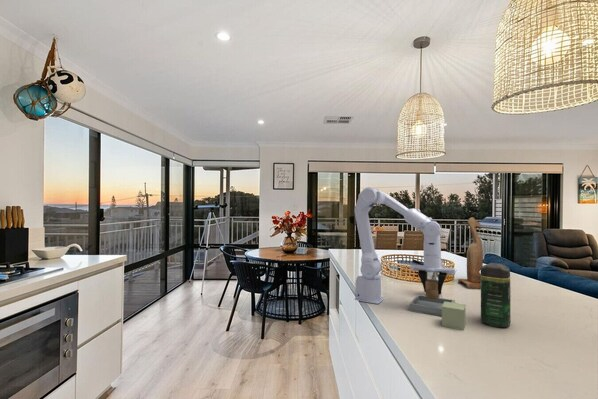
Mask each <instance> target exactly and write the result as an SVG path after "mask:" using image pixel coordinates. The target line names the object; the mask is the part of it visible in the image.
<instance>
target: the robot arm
mask: <svg viewBox="0 0 598 399" xmlns="http://www.w3.org/2000/svg"><path fill="white" fill-rule="evenodd" d="M377 204H382V205H386V206H387V207H389V208H390V209H392V210H394V211H396V212H397V213H399V214H400V215H402V216H403V218H404V221H405V222H406V223H408V224H409V225H410V226H412V227H413V228H415V229H416V230H418V231H422V232H421V233H422V234H423V264H411V265H410V271H412V272H413V271H416V272H417V276H418V278H419V279H420V281H421V283H422V287H423V291H424V293H426V285H425V281H426V280H427V272H433V273H439V274H438V294H441V292H442V289H443V285H444V283H445V280H446V278H447V277H448V275H451V276H455V275H456V268H453V267H452V268H451V267H445V266H443V267H441V260H442V250H441V249H442V243H441V231H442V227H441V225H440V224H439V223H438V222H437V221H436V220H433V218H432V217H431V216H430V217H428V216H427V215H425V214H424V213H422V212H421V210H420V209H419V208H417V209H416V208H414V207H413V208H408V207H406V206H405V205H404V204H402V203H401V202H399V201H398V200H397V199H395V198H394V197H392V196H391V195H389V194H388V193H386V192H384V191H381V190H380V189H378V188H374V187H370V186H369V187H365V188H363V189H362V190H361V191H360V193H359V194H358V198H357V200H356V204H355V206H354V216H355V220H356V221H355V222H356V226H357V232H358V239H359V243H360V248H361V249H360V250H361V258H360V262H361V265H360V273H361V275H357V277H356V278H355V282H354V283H355V285H354V286H355V293H354V294H355V298H354V300H355V301H358V302H365V303H370V304H376V305H379V304H380V303H382V301H383V300H385V297H383V296H382V277H381V274H380V272H382V268H383V267H382V266H383V265H382V263H381V260H379V257H378V254H377V252H376V249H375V244H374V238H373V234H372V228H371V224H370V223H371V222H370V216H369V212H371V209H372V208H373V207H374V206H376V205H377Z"/></svg>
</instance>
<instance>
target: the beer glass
mask: <svg viewBox="0 0 598 399" xmlns="http://www.w3.org/2000/svg"><path fill="white" fill-rule="evenodd" d="M441 267H444V264H443V260H442V259H441ZM438 274H439V273H433V272H427V279H432V280H438ZM439 298H443V292H442V291H441V294H440V297H439Z"/></svg>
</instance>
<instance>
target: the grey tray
mask: <svg viewBox="0 0 598 399" xmlns="http://www.w3.org/2000/svg"><path fill="white" fill-rule="evenodd" d="M444 301H445V302H452V303H456V300H455V299H450V298H444V297H442V298H439V299H438V300H434V299H428V298H426V295H424V294H423V295H422V294H417V295H416V296H414V298H413V299H412V300H411V302H410V303H409V311H410V312H414V313H420V314H426V315H432V316H437V317H442V305H443V303H444Z"/></svg>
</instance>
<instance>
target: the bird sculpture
mask: <svg viewBox="0 0 598 399" xmlns="http://www.w3.org/2000/svg"><path fill="white" fill-rule="evenodd" d="M467 224H468V227H469V229H470V232H471V236H472V240H473V241H472V243H471V244H470V245H469V246H468V248H467V251H466V278H458V279H457V284H465V285H466V288H467V289H473V290H475V289H476V290H481V274H480V273H481V267H482V266H484V258H483V256H484V254H483V253H484V251H483V245H482V241H481V238H480V236H479V233H478V231H477V229H479V230H480V229H482V224H481V222H479V221H478V220H476V219H475V217H473V216H472V217H470V218H468V219H467Z"/></svg>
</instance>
